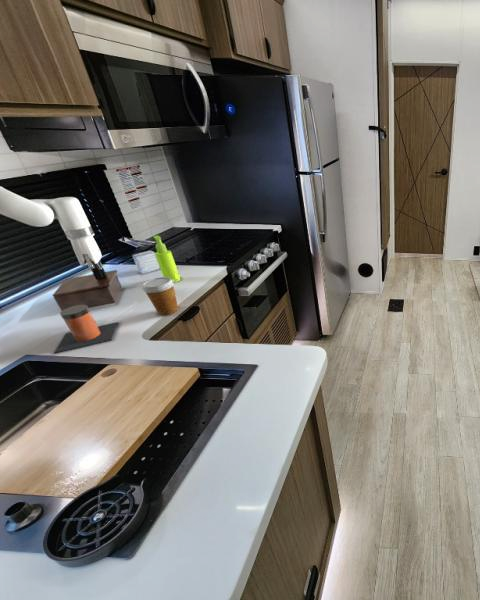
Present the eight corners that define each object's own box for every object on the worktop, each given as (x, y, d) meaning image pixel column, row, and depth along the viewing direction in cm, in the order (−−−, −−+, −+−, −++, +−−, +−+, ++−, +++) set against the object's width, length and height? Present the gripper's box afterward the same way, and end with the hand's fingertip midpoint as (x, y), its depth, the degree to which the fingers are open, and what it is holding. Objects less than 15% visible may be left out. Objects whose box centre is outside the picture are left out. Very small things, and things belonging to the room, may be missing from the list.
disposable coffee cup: (174, 302, 129) (163, 274, 123) (188, 308, 124) (177, 279, 119) (148, 313, 122) (135, 284, 116) (161, 320, 117) (149, 290, 112)
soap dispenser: (177, 275, 152) (162, 233, 142) (182, 280, 147) (166, 236, 138) (163, 279, 148) (146, 236, 139) (167, 284, 144) (150, 239, 134)
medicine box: (157, 266, 161) (150, 250, 157) (161, 268, 159) (154, 251, 155) (138, 272, 156) (131, 254, 152) (142, 274, 153) (135, 256, 149)
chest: (122, 289, 140) (115, 273, 136) (116, 304, 128) (108, 287, 124) (75, 297, 133) (66, 281, 130) (63, 314, 121) (53, 297, 118)
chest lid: (117, 271, 137) (116, 269, 136) (110, 285, 124) (109, 284, 124) (66, 281, 130) (65, 279, 129) (53, 297, 118) (52, 295, 117)
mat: (54, 353, 101) (54, 352, 101) (66, 334, 110) (66, 333, 110) (111, 340, 107) (111, 339, 106) (118, 322, 116) (117, 322, 116)
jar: (72, 344, 104) (56, 317, 99) (78, 333, 109) (63, 307, 105) (98, 338, 107) (84, 311, 102) (103, 328, 112) (89, 302, 107)
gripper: (72, 229, 124) (94, 273, 133) (59, 240, 113) (84, 288, 121) (97, 226, 127) (117, 270, 136) (87, 236, 116) (110, 283, 125)
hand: (101, 278), depth 129 cm, fingers closed
